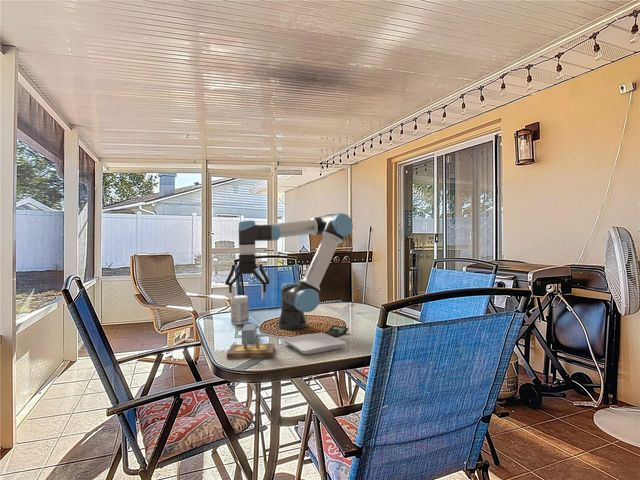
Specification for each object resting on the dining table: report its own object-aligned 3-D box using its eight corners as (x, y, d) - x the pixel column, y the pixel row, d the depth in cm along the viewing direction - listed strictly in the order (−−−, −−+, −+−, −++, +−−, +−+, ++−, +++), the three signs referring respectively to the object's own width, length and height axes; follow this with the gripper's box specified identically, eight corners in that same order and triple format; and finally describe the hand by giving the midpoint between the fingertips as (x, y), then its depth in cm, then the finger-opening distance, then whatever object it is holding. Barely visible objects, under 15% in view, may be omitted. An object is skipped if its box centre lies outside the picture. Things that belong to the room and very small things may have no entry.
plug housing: (245, 336, 181) (244, 324, 181) (256, 336, 182) (256, 323, 181) (241, 343, 169) (241, 330, 169) (254, 343, 170) (254, 330, 169)
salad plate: (281, 345, 168) (281, 337, 168) (322, 338, 178) (322, 331, 178) (302, 359, 149) (302, 350, 149) (347, 350, 160) (347, 342, 160)
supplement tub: (248, 320, 214) (248, 294, 214) (249, 324, 205) (248, 297, 205) (230, 321, 212) (230, 295, 212) (230, 325, 203) (230, 298, 203)
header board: (274, 348, 162) (274, 334, 162) (272, 357, 150) (272, 343, 150) (231, 349, 161) (231, 336, 161) (226, 358, 149) (226, 344, 149)
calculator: (318, 335, 183) (318, 329, 183) (333, 330, 192) (333, 325, 192) (333, 339, 177) (333, 332, 177) (348, 333, 186) (348, 327, 186)
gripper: (274, 253, 179) (275, 297, 180) (221, 253, 178) (222, 298, 178) (273, 253, 172) (274, 300, 172) (218, 254, 170) (218, 301, 171)
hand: (247, 299), depth 175 cm, fingers open, 13 cm apart
